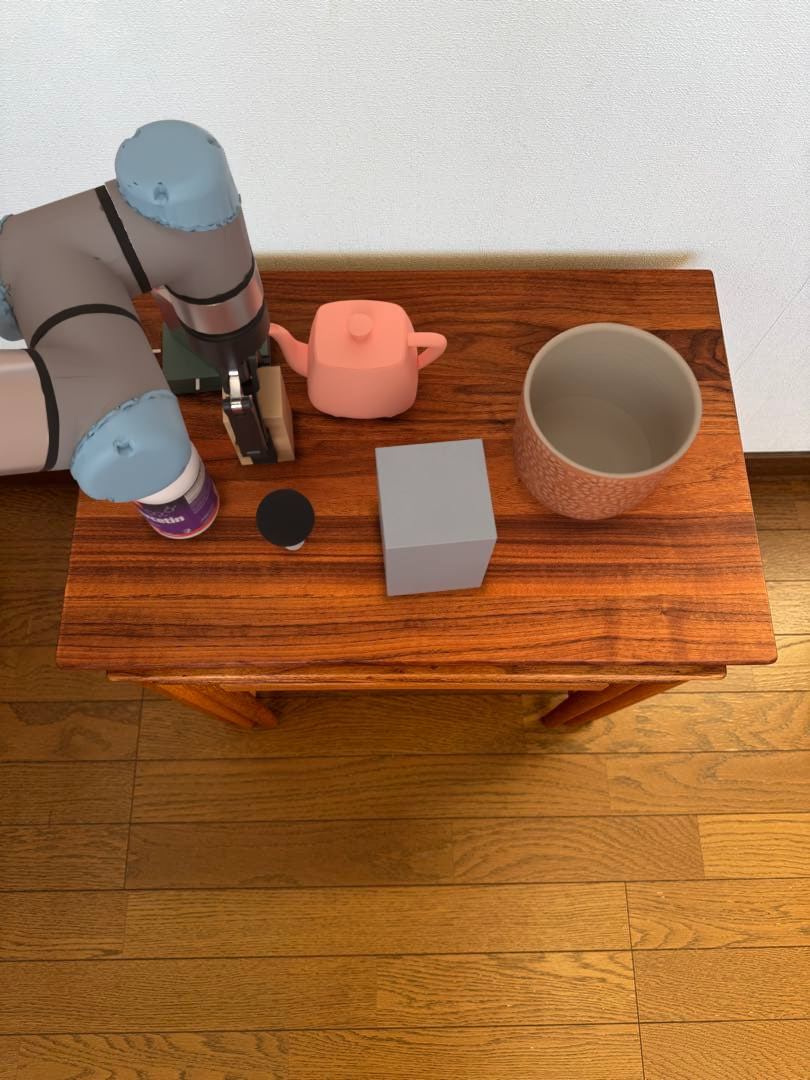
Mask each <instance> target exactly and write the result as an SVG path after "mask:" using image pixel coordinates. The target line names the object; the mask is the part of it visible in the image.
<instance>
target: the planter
mask: <svg viewBox="0 0 810 1080" xmlns="http://www.w3.org/2000/svg"><path fill="white" fill-rule="evenodd" d="M702 420H703V398H702V392H701V389H700V386H699V383H698V380H697V378H696V376H695V374H694V371H693V370H692V369H691V367H690V365H689V364H688V363H687V361H686V360H685V359H684V358H683V356H681V354H680V353H679V352H678V351H677V350H676V349H675V348H673V346H672V345H670V344H669V343H667V342H666V341H664V340H663V339H661V338H660V337H658V336H656V335H655V334H652V333H650V332H649V331H646V330H643V329H641V328H639V327H635V326H631V325H627V324H622V323H616V322H615V323H614V322H595V323H594V322H593V323H587V324H581V325H579V326H575V327H572V328H570V329H568V330H564V331H563V332H561V333H559V334H558V335H557V334H556V336H554V337H552V338H551V339H550V340H549V341H547V343H545V344H544V345H543V346H542V347H541V348H540V349H539V351H538V352H537V353H536V354H535V355H534V357H533V358H532V360H531V362H530V364H529V366H528V369H527V371H526V374H525V377H524V380H523V384H522V388H521V391H520V395H519V402H518V405H517V410H516V414H515V420H514V425H513V432H512V454H513V455H512V456H513V462H514V464H515V467H516V471H517V473H518V476H519V478H520V480H521V482H522V484H523V486H525V488H526V489H527V491H528V492H529V493H530V494H531V495H532V496H533V497H534V498H535V499H536V500H537V501H538V502H539V503H540V504H542V505H543V506H544V507H546V508H548V509H549V510H551V511H552V512H555V513H557V514H559V515H561V516H564V517H568V518H572V519H577V520H582V521H583V520H584V521H596V520H604V519H610V518H613V517H616V516H619V515H621V514H623V513H624V514H625V513H626V512H628V511H630V510H631V509H632V508H634V507H636V506H638V505H639V504H640V503H641V502H643V501H644V500H645V499H646V498H648V496H649V495H651V493H653V492H654V491H655V489H657V488H658V486H659V485H660V484H661V483H662V482H663V481H664V480H665V479H666V477H667V476H668V475H669V474H670V472H671V471H672V470H673V469H674V468H675V467H676V466H677V464H678V463H679V462H680V461H681V460H682V458H683V457H684V456H685V455H686V453H687V452H688V451H689V449H690V448H691V447H692V445H693V444H694V442H695V440H696V438H697V436H698V433H699V431H700V428H701V425H702Z"/></svg>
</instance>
